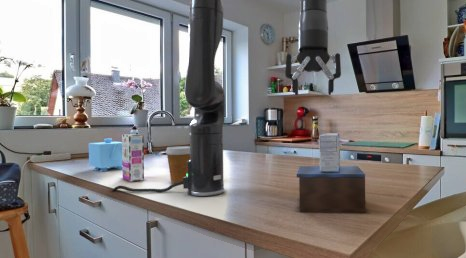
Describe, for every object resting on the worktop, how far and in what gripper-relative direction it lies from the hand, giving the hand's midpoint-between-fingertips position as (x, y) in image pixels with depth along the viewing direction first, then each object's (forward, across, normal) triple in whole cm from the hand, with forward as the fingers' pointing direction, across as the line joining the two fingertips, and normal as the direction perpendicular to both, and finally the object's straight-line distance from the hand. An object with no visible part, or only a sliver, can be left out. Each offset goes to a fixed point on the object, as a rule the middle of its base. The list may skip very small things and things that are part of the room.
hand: (312, 94), depth 77 cm
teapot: (+29, +91, -45) cm, 106 cm away
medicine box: (+19, -4, +5) cm, 20 cm away
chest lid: (+19, -4, +5) cm, 21 cm away
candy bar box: (+29, +66, -24) cm, 75 cm away
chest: (+27, -5, +5) cm, 28 cm away
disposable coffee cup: (+28, +46, -20) cm, 57 cm away
